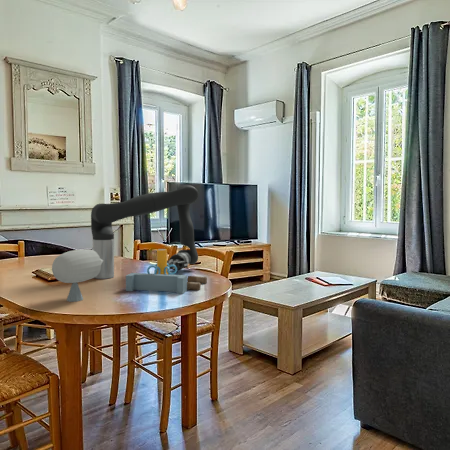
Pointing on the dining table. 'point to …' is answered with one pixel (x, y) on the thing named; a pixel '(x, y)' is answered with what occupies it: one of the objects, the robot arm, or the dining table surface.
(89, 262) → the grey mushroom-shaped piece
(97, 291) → the dining table surface
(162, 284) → the stop rail
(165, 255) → the yellow block with rings
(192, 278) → the roller
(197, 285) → the roller
